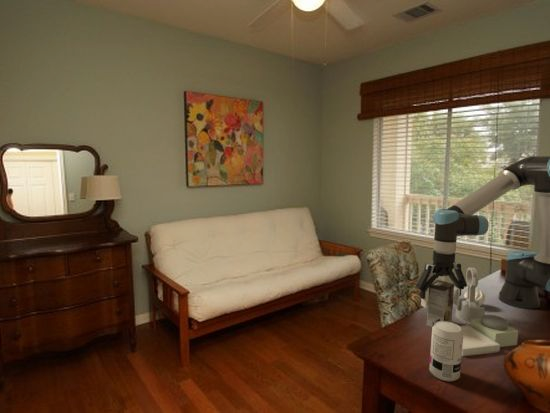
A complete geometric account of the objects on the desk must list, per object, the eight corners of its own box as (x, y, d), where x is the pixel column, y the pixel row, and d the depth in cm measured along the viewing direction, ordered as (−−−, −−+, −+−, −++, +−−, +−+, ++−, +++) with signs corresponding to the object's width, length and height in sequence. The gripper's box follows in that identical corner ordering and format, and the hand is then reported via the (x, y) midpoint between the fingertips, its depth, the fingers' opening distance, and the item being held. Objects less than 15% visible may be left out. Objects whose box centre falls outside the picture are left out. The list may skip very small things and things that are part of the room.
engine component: (460, 322, 136) (488, 324, 134) (464, 271, 133) (493, 273, 131) (451, 310, 147) (477, 312, 145) (455, 263, 144) (482, 265, 142)
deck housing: (490, 328, 131) (491, 311, 130) (523, 348, 117) (525, 329, 116) (434, 335, 126) (435, 316, 125) (462, 356, 112) (464, 336, 112)
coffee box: (435, 317, 140) (437, 279, 137) (452, 323, 135) (455, 283, 133) (425, 325, 133) (428, 285, 131) (443, 331, 129) (446, 289, 127)
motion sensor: (459, 303, 154) (461, 286, 153) (473, 301, 156) (474, 284, 155) (474, 311, 146) (476, 293, 145) (488, 308, 148) (490, 291, 147)
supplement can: (423, 366, 107) (427, 320, 105) (449, 365, 108) (453, 319, 106) (438, 383, 99) (442, 334, 97) (465, 382, 100) (470, 332, 98)
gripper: (465, 247, 136) (461, 299, 139) (408, 250, 131) (404, 303, 134) (480, 252, 129) (475, 307, 132) (420, 255, 124) (416, 311, 127)
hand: (439, 305), depth 133 cm, fingers open, 13 cm apart
